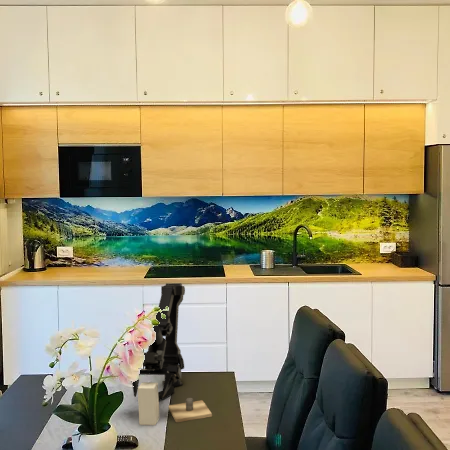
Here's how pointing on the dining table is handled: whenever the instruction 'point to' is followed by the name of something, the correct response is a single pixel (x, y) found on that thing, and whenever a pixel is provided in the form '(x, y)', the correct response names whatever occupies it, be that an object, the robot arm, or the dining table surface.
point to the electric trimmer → (169, 392)
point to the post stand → (189, 410)
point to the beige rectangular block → (148, 403)
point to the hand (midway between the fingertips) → (148, 396)
